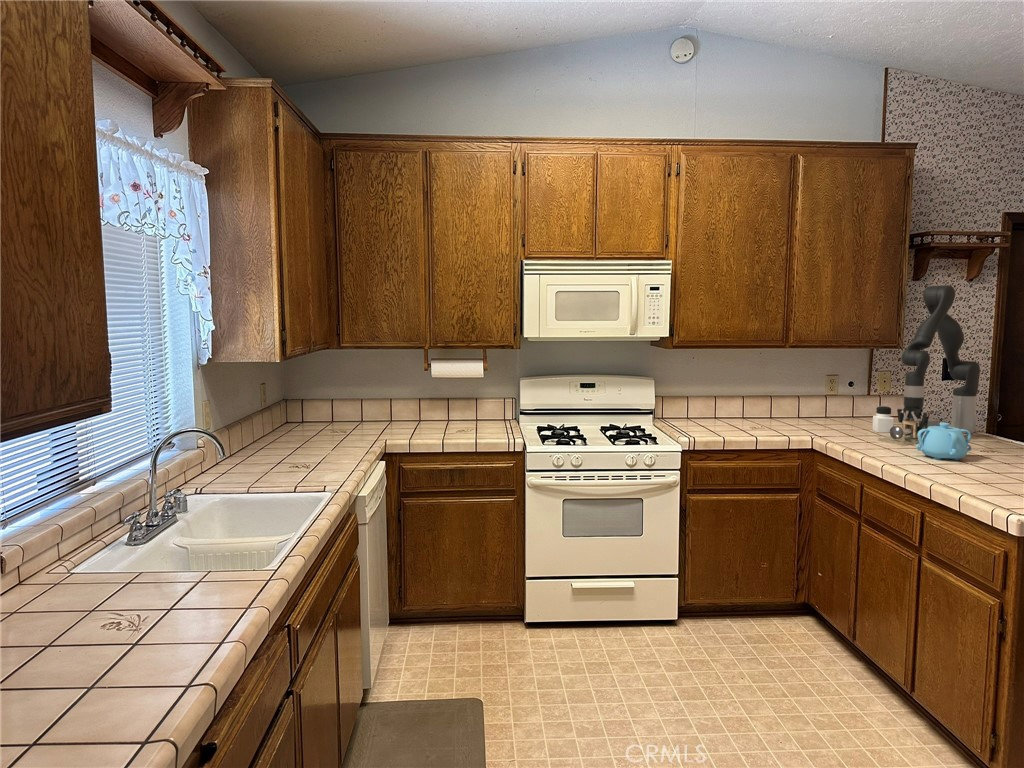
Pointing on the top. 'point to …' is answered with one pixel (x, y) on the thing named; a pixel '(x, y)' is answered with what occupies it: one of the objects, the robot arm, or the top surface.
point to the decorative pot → (944, 442)
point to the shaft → (900, 432)
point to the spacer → (908, 425)
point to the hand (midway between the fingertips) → (912, 433)
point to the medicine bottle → (883, 420)
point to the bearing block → (909, 439)
